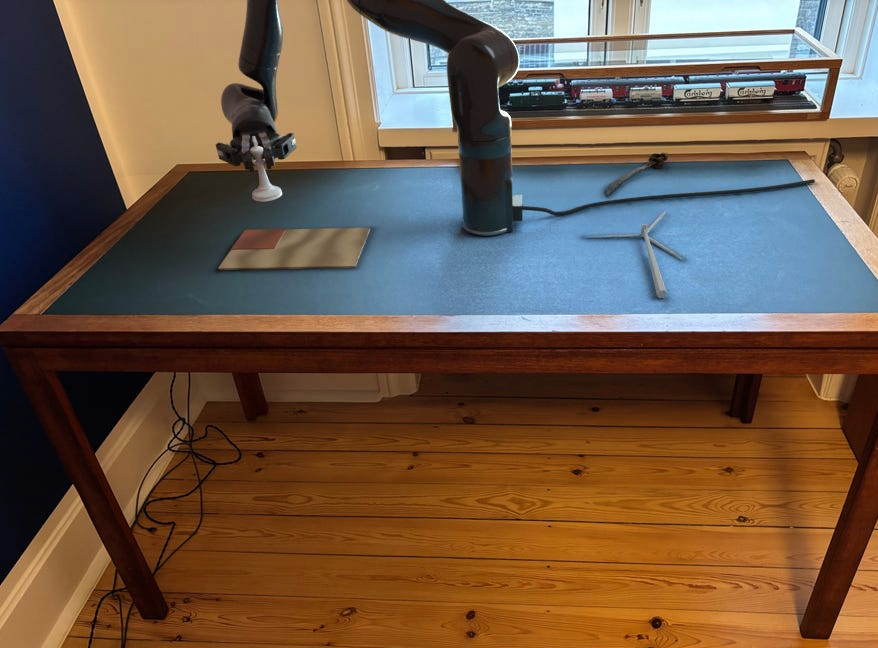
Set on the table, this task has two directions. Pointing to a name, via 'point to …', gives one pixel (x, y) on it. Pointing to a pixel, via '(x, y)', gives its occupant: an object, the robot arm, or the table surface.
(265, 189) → the chess piece
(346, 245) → the corner board
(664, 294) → the wind turbine model
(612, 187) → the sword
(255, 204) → the table surface
